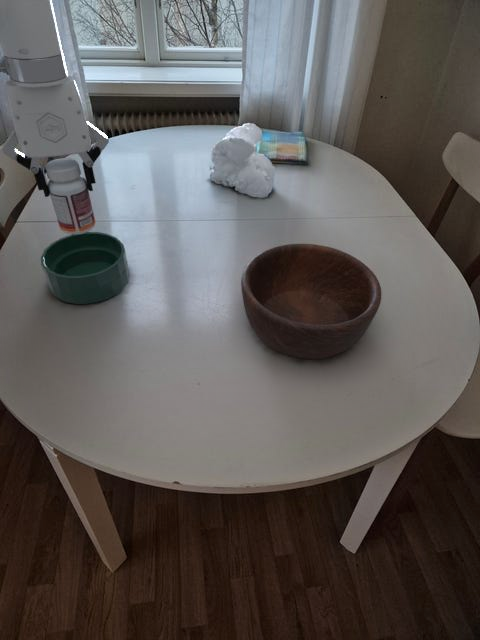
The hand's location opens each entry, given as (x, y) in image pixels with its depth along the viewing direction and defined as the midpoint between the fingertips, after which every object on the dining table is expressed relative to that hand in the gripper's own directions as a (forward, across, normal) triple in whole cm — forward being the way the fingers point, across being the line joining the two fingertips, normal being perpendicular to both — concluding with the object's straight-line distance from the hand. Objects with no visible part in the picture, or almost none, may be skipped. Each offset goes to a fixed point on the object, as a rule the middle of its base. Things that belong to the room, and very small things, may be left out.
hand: (68, 189), depth 71 cm
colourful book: (+23, +68, +59) cm, 93 cm away
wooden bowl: (+24, +37, -20) cm, 48 cm away
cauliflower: (+24, +46, +39) cm, 65 cm away
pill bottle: (+7, 0, 0) cm, 7 cm away
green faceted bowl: (+24, 0, +6) cm, 24 cm away
